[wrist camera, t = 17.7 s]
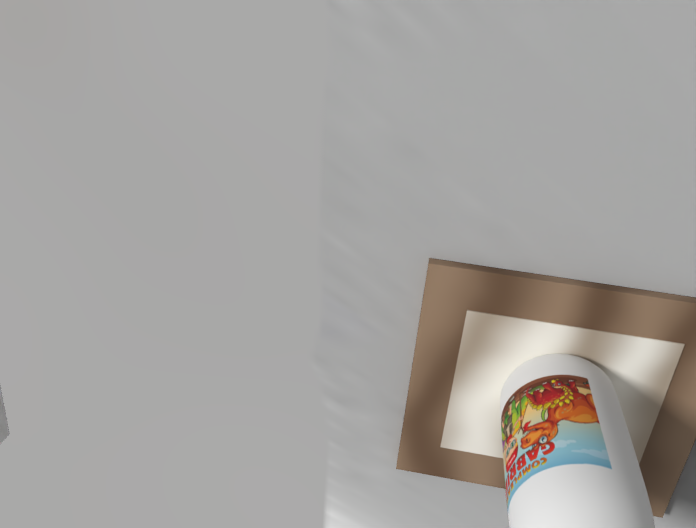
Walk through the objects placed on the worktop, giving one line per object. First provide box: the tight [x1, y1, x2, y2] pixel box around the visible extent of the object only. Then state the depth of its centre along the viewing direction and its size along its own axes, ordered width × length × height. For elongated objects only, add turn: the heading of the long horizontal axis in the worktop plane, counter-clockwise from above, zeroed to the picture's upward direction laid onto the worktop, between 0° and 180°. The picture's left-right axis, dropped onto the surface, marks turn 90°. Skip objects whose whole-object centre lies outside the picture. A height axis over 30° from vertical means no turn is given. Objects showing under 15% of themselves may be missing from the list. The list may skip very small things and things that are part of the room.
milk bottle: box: [500, 353, 655, 528], centre depth 38 cm, size 8×8×20 cm
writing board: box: [396, 258, 696, 517], centre depth 47 cm, size 20×18×1 cm
